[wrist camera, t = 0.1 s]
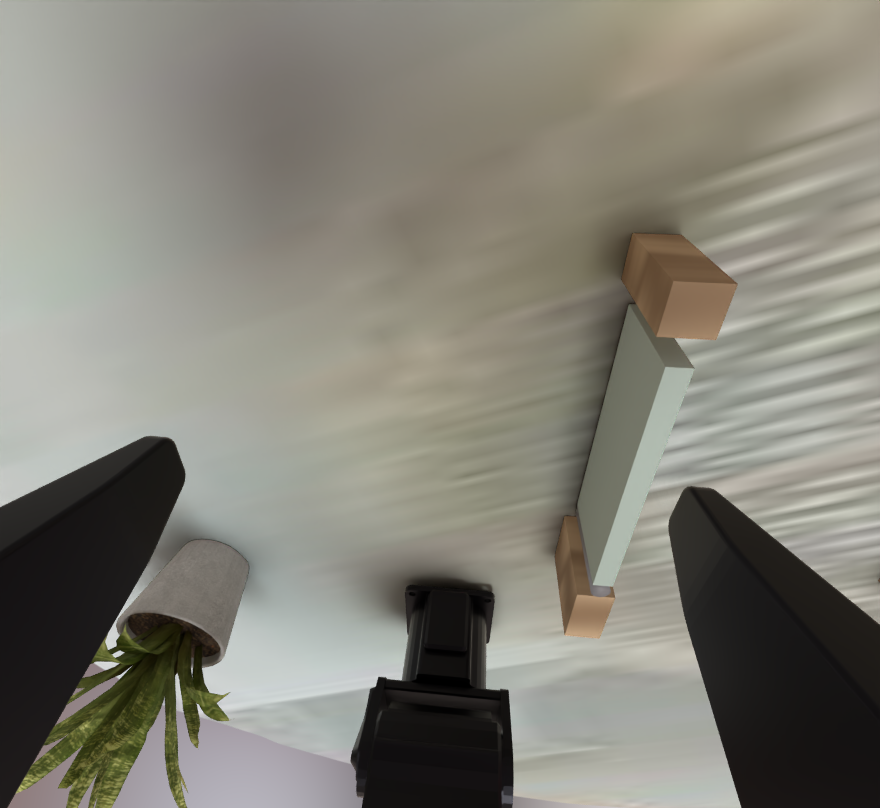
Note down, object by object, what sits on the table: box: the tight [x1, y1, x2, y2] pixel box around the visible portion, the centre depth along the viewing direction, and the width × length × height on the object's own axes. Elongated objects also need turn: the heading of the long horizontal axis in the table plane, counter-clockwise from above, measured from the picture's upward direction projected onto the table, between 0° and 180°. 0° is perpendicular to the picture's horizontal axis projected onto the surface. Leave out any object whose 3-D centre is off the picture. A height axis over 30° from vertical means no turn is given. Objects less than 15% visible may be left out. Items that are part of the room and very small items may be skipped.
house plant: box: [16, 539, 249, 808], centre depth 29 cm, size 14×14×16 cm
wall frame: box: [555, 233, 738, 638], centre depth 24 cm, size 22×2×6 cm, turn 179°
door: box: [576, 304, 695, 597], centre depth 23 cm, size 14×1×6 cm, turn 179°
